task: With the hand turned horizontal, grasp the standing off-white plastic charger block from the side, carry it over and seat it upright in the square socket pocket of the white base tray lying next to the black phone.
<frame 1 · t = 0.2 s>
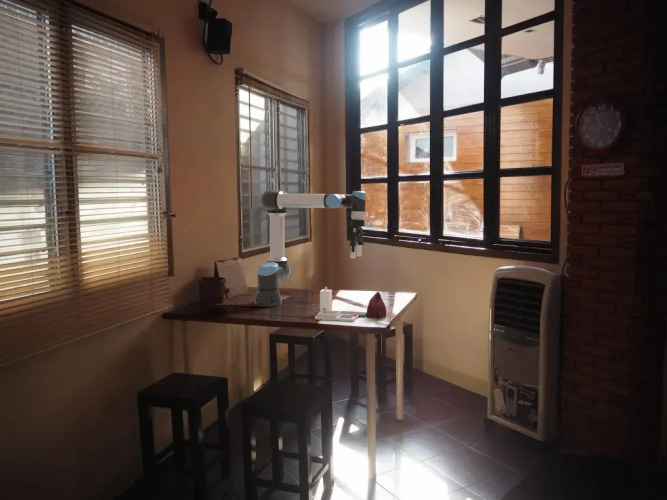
hand: (356, 257, 285), 27 cm above the table, tool pointing down, fingers open, 13 cm apart
phone: (353, 315, 263), on the table
vegetable: (376, 316, 261), on the table
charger: (326, 312, 269), on the table
white base tray: (336, 318, 256), on the table
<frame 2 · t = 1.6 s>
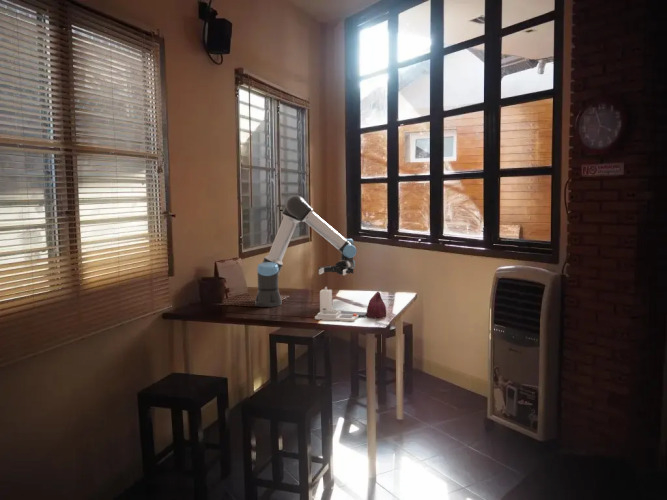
hand: (331, 272, 276), 20 cm above the table, tool horizontal, fingers open, 13 cm apart
nothing on the table moved.
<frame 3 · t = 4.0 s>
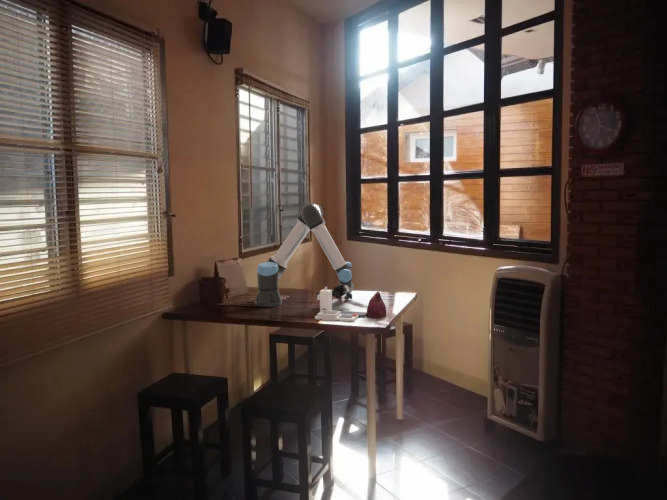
hand: (329, 298, 272), 7 cm above the table, tool horizontal, fingers open, 13 cm apart
nothing on the table moved.
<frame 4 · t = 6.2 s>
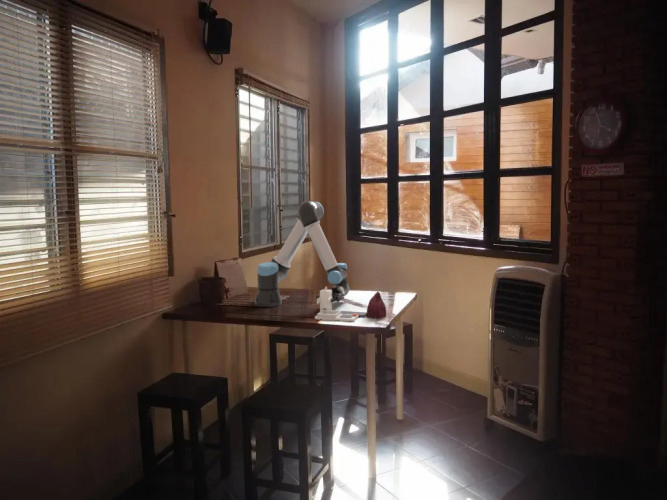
hand: (322, 301, 263), 7 cm above the table, tool horizontal, fingers closed on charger, 5 cm apart
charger: (326, 312, 269), on the table, touching gripper
everything else where it was.
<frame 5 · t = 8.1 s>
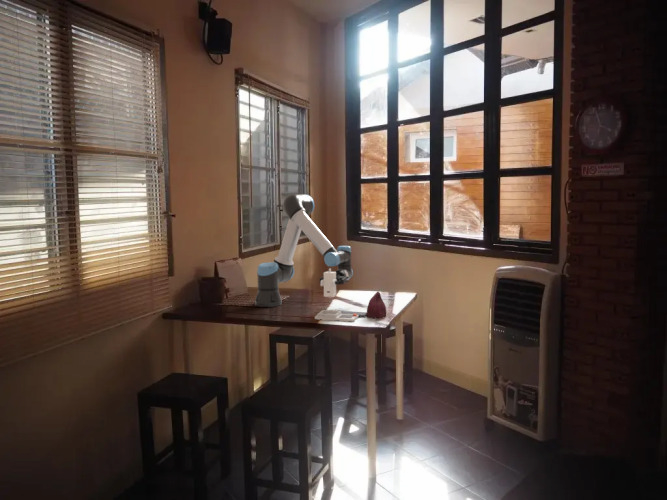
hand: (326, 283, 251), 18 cm above the table, tool horizontal, fingers closed on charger, 5 cm apart
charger: (330, 295, 257), point 11 cm above the table, touching gripper
everything else where it was.
when the fingers open (9 cm above the table, at t = 10.0 s): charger drops 1 cm, resting on white base tray.
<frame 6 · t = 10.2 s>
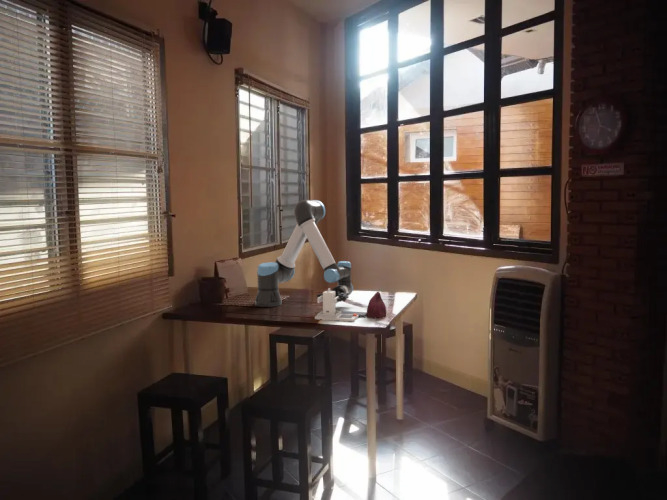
hand: (326, 300, 252), 9 cm above the table, tool horizontal, fingers open, 8 cm apart
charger: (329, 315, 257), point 1 cm above the table, touching white base tray
everything else where it was.
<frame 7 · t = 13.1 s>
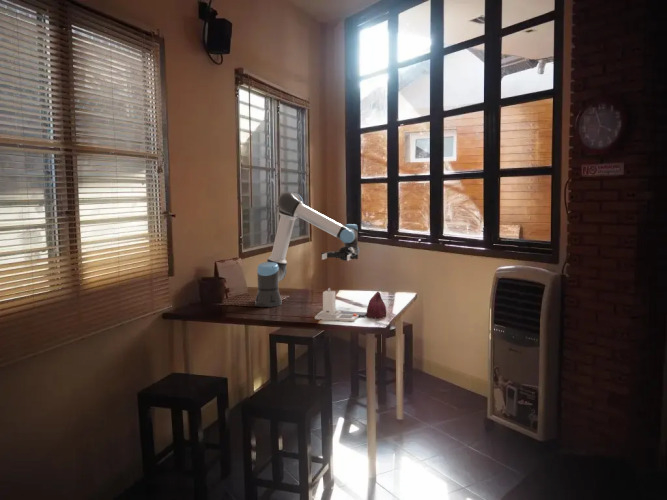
hand: (335, 257, 264), 29 cm above the table, tool horizontal, fingers open, 13 cm apart
nothing on the table moved.
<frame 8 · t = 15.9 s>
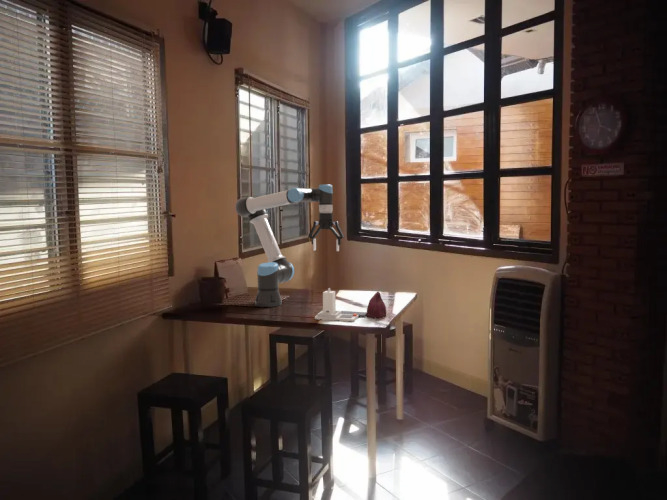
hand: (326, 250, 285), 31 cm above the table, tool pointing down, fingers open, 13 cm apart
nothing on the table moved.
at the end: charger 0.0 cm from the target spot on the white base tray, point 1.2 cm above the white base tray's base; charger tilted 0°; the gripper is holding nothing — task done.
